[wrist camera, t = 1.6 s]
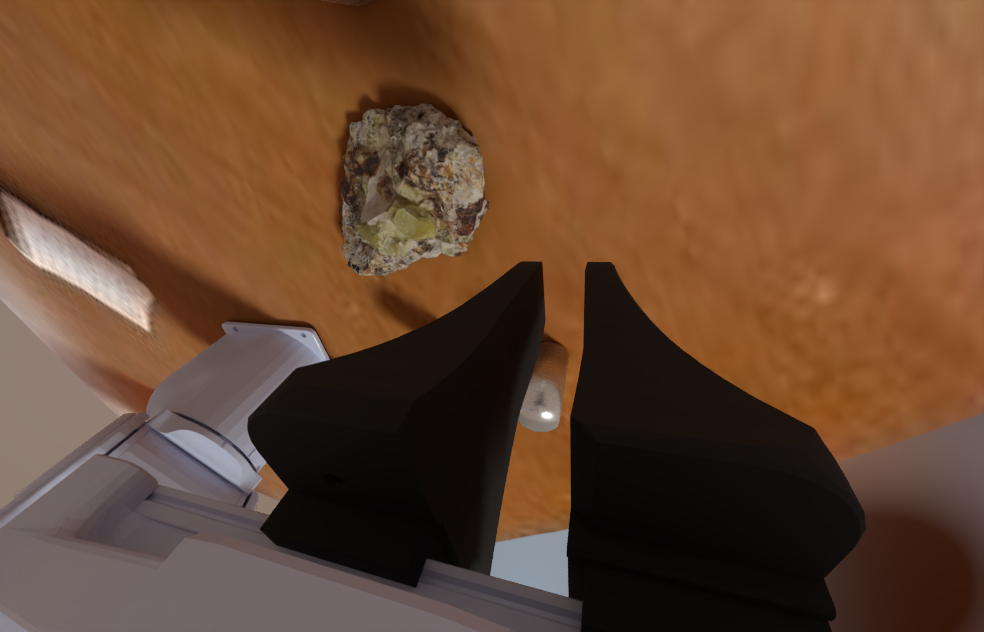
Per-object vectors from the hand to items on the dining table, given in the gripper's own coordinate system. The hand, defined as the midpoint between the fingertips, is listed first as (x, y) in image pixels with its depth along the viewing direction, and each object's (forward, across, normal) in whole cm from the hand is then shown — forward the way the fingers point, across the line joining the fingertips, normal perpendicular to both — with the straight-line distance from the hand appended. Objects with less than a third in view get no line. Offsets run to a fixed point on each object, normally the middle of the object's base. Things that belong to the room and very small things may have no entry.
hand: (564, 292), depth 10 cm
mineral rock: (+9, +9, 0) cm, 13 cm away
